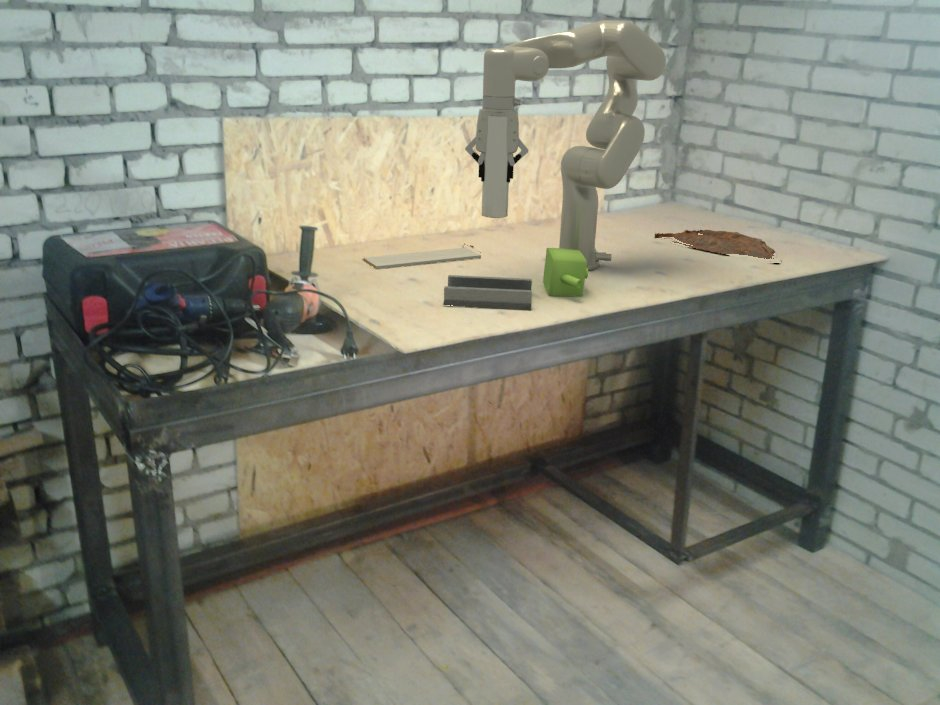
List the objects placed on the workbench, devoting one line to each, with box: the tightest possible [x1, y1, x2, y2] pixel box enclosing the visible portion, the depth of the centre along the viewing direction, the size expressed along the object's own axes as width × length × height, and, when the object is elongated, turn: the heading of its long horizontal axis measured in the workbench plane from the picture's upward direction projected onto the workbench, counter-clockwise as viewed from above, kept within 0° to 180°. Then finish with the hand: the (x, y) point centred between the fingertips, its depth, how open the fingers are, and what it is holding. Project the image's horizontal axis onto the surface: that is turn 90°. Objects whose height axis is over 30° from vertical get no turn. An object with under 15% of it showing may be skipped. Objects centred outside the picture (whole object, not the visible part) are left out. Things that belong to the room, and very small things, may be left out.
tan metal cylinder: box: [481, 112, 510, 219], centre depth 210 cm, size 6×6×25 cm
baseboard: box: [361, 242, 482, 270], centre depth 239 cm, size 31×3×12 cm
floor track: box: [442, 274, 533, 311], centre depth 205 cm, size 20×13×4 cm, turn 86°
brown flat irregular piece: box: [654, 229, 776, 259], centre depth 261 cm, size 40×28×5 cm
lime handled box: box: [542, 247, 589, 297], centre depth 212 cm, size 18×10×10 cm, turn 3°
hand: (495, 180), depth 211 cm, fingers closed on tan metal cylinder, 5 cm apart
